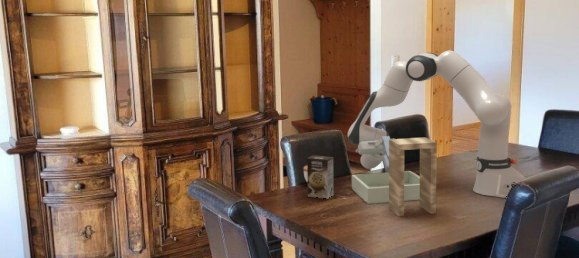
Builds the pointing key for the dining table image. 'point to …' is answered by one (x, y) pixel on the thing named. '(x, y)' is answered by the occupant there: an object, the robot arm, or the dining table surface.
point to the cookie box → (320, 176)
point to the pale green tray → (384, 186)
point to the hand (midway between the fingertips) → (387, 140)
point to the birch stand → (426, 173)
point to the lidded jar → (305, 173)
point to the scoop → (386, 152)
